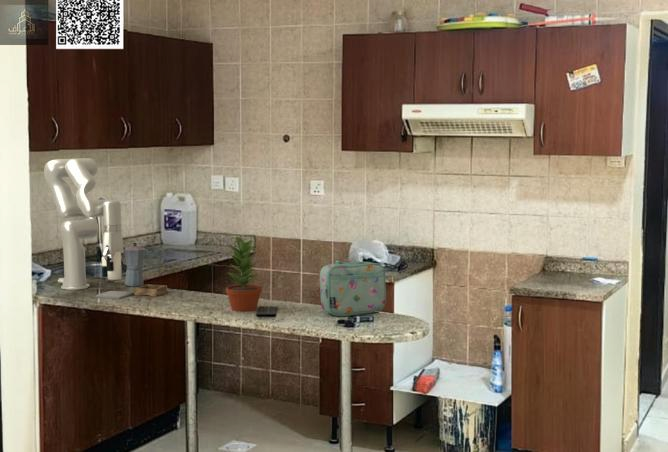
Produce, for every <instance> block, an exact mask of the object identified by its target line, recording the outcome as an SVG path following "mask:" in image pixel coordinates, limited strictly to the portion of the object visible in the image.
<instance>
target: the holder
mask: <svg viewBox="0 0 668 452" xmlns="http://www.w3.org/2000/svg"><path fill="white" fill-rule="evenodd" d="M166 292H167V293H168V285H159V284H144V285H143V286H137V287H134V296H140V295H150V296H149V297H158V296H157V295H159V296H161V295H164V294H167V293H166ZM163 293H164V294H163ZM160 294H161V295H160Z"/></svg>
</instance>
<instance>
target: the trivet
mask: <svg viewBox="0 0 668 452" xmlns="http://www.w3.org/2000/svg"><path fill="white" fill-rule="evenodd" d="M131 294H133V295H135V291H134V292H133V291H119V290H117V291H116V290H108V291H105V292H102V293H99V294H96V295H95V296H94V297H95V298H101V299H112V300H113V299H117V300H121V299H124V298H126V296H127V297H129V295H130V296H132V295H131Z"/></svg>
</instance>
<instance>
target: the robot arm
mask: <svg viewBox="0 0 668 452" xmlns="http://www.w3.org/2000/svg"><path fill="white" fill-rule="evenodd" d="M97 173H98V164H97V162H96V161H95V160H94V159H93V158H90V157H87V158H86V157H85V158H84V157H83V158H82V157H81V158H56V159H51V160H49V161H47V162H46V163H45V164H44V169H43V175H44V180H45V182H46V184H47V186H48V187H49V189H50V192H51V194H52V197H53V200H54V204H55V208H56V211H57V213H58V215H59V217H61V218H62V219H67V220H64V221H63V222H62V223H61V225H60V228H59V230H60V235H61V242H62V250H63V251H62V252H63V253H62V254H63V274H64V275H63V276H64V277H58V280H57V283H58V284H59V283H60V284H61V283H62V285H61V287H60V288H61V289H62V290H68V291H71V290H72V291H74V290H75V291H76V290H84V289H89V288H90V284H89V283H87V280H86V279H87V275H86V270H87V269H86V249H85V246H84V244H83V243H82V242H81V240H87V239H93V238H95V237H97V236H98V234H99V223H98V221H97V218H98V217H99V218H102V217H103V218H102V219H103V235H102V257H104V258H105V260H106V266H105V267H106V272H107V271H114V266H113V262H112V261H113V255H115V252H119V251H121V270H122V268H123V266H122V262H123V255H124V253H125V251H124V249H123V247H124V240H123V233H122V232H123V230H122V205H121V202H120V201H119V200H114V199H113V200H111V199H108V198H107V199H106V198H103V199H90V198H88V196H87V194H88V193H90V192H92V190H94V189H95V187H96V180H95V178H94V176H95V175H96V174H97ZM63 178H70V180H71V181H72V183H73V184H74V186H75V187H76V189H77V190H76V196H74V195H73V193H72V189H71V187H70V186H69V184H68V183H67V182H66V181H65V180H64V179H63ZM109 253H110V254H111V255H108V254H109ZM109 256H111V257H109ZM88 287H89V288H88Z"/></svg>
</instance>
